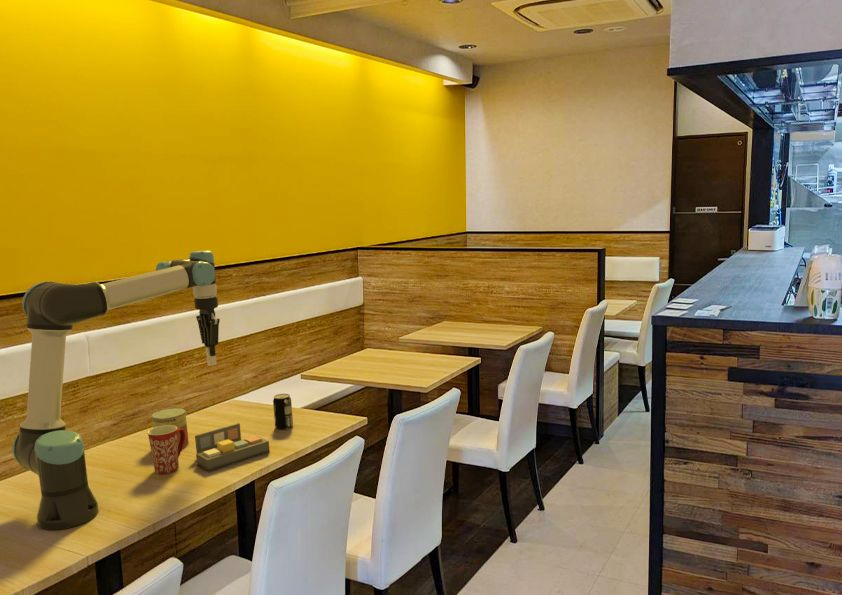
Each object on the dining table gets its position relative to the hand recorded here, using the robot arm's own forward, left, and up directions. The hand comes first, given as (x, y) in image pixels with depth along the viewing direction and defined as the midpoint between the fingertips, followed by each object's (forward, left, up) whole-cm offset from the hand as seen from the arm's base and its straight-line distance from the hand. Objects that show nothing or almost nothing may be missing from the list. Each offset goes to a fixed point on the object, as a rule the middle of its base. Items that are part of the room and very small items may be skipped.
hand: (212, 364), depth 243 cm
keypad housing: (-3, -15, -29) cm, 33 cm away
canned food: (-11, +14, -29) cm, 34 cm away
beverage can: (+26, 0, -29) cm, 39 cm away
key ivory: (-10, -15, -28) cm, 33 cm away
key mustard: (-5, -15, -26) cm, 31 cm away
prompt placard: (-3, -5, -29) cm, 30 cm away
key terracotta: (+5, -15, -28) cm, 32 cm away
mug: (-20, -6, -29) cm, 36 cm away
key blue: (0, -15, -28) cm, 32 cm away
